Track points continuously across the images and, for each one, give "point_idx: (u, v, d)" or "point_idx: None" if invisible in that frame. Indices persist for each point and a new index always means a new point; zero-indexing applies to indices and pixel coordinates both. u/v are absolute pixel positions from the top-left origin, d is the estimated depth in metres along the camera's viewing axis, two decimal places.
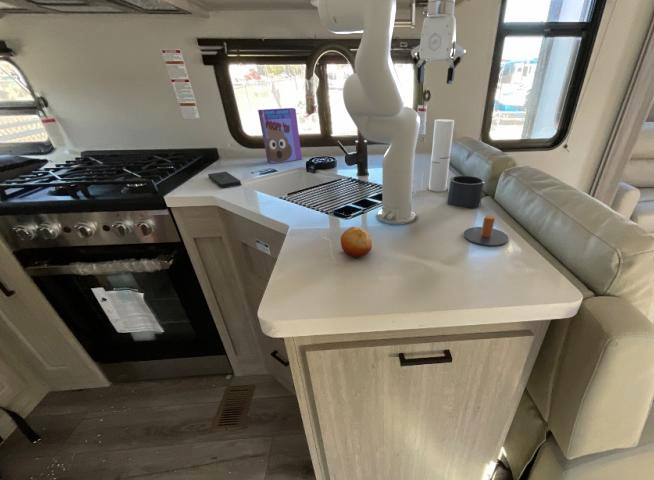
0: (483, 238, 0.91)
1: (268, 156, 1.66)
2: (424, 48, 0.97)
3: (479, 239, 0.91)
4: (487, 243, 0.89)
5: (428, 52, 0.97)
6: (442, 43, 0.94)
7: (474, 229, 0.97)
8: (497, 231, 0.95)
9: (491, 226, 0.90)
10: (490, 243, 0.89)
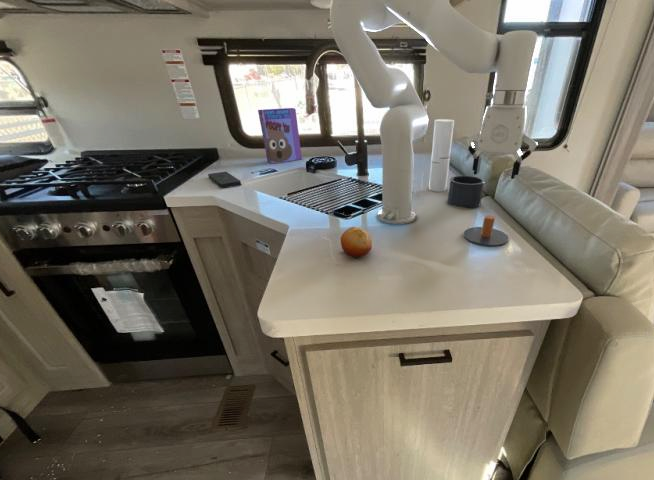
0: (483, 238, 0.91)
1: (268, 156, 1.66)
2: (485, 139, 0.80)
3: (479, 239, 0.91)
4: (487, 243, 0.89)
5: (490, 144, 0.80)
6: (509, 136, 0.77)
7: (474, 229, 0.97)
8: (497, 231, 0.95)
9: (491, 226, 0.90)
10: (490, 243, 0.89)
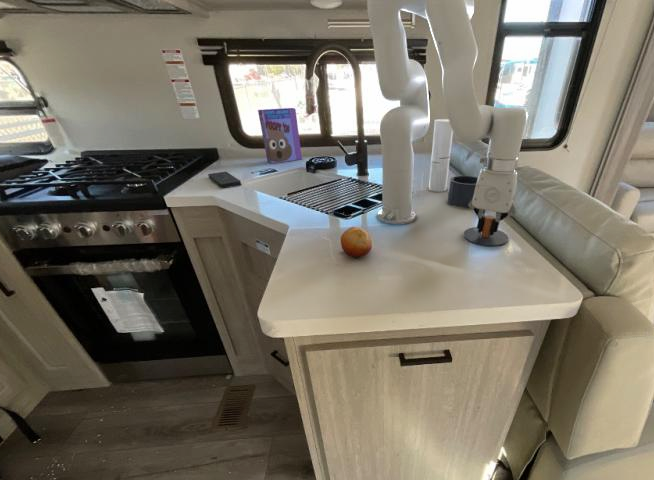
0: (483, 238, 0.91)
1: (268, 156, 1.66)
2: (479, 198, 0.86)
3: (479, 239, 0.91)
4: (487, 243, 0.89)
5: (483, 203, 0.86)
6: (501, 198, 0.83)
7: (474, 229, 0.97)
8: (497, 231, 0.95)
9: (491, 226, 0.90)
10: (490, 243, 0.89)
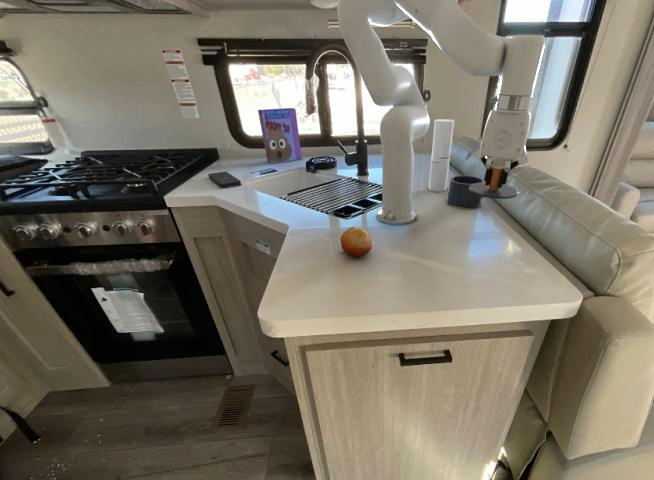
0: (491, 191, 0.84)
1: (268, 156, 1.66)
2: (487, 144, 0.79)
3: (486, 192, 0.83)
4: (495, 195, 0.81)
5: (492, 149, 0.79)
6: (512, 142, 0.76)
7: (480, 184, 0.89)
8: (505, 186, 0.88)
9: (500, 177, 0.83)
10: (498, 195, 0.81)
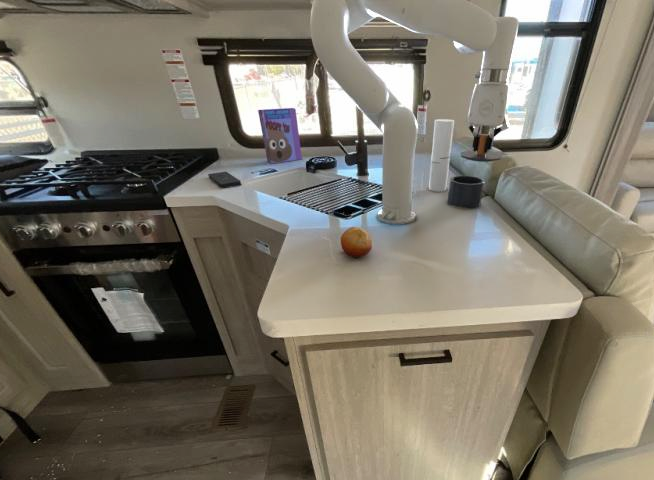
0: (478, 156, 0.97)
1: (268, 156, 1.66)
2: (474, 113, 0.92)
3: (474, 156, 0.96)
4: (481, 158, 0.94)
5: (478, 118, 0.91)
6: (494, 110, 0.89)
7: (470, 151, 1.02)
8: (492, 152, 1.01)
9: (485, 143, 0.96)
10: (484, 158, 0.94)
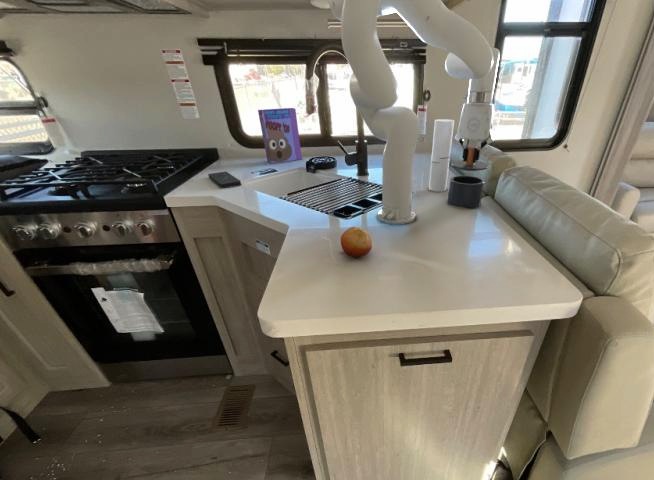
0: (467, 165, 1.09)
1: (268, 156, 1.66)
2: (463, 129, 1.04)
3: (464, 166, 1.09)
4: (470, 168, 1.07)
5: (466, 133, 1.04)
6: (480, 126, 1.01)
7: (460, 161, 1.15)
8: (480, 162, 1.14)
9: None
10: (472, 168, 1.07)
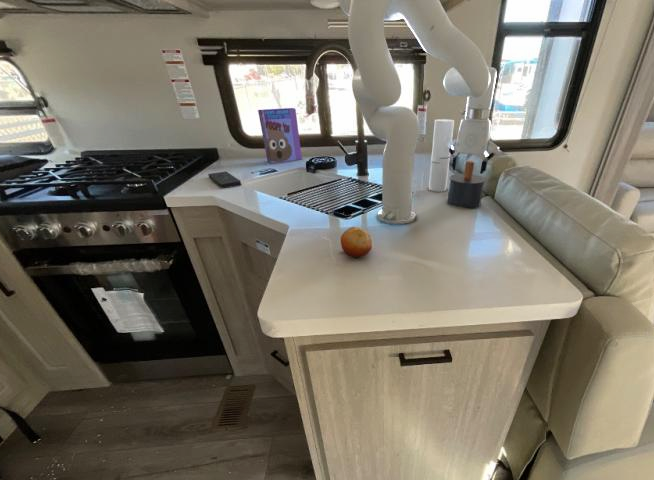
0: (465, 179, 1.12)
1: (268, 156, 1.66)
2: (460, 144, 1.07)
3: (462, 180, 1.12)
4: (468, 182, 1.09)
5: (464, 147, 1.07)
6: (478, 142, 1.04)
7: (458, 175, 1.17)
8: (477, 176, 1.16)
9: (471, 169, 1.11)
10: (470, 182, 1.09)
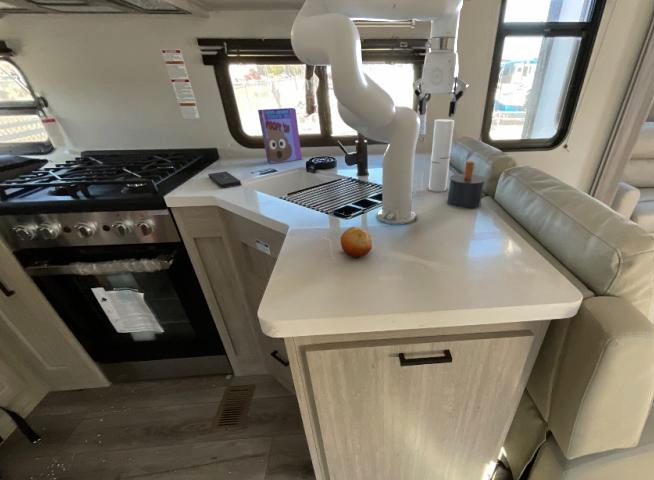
0: (465, 179, 1.12)
1: (268, 156, 1.66)
2: (426, 82, 0.96)
3: (462, 180, 1.12)
4: (468, 182, 1.09)
5: (430, 86, 0.96)
6: (444, 78, 0.93)
7: (458, 175, 1.17)
8: (477, 176, 1.16)
9: (471, 169, 1.11)
10: (470, 182, 1.09)
